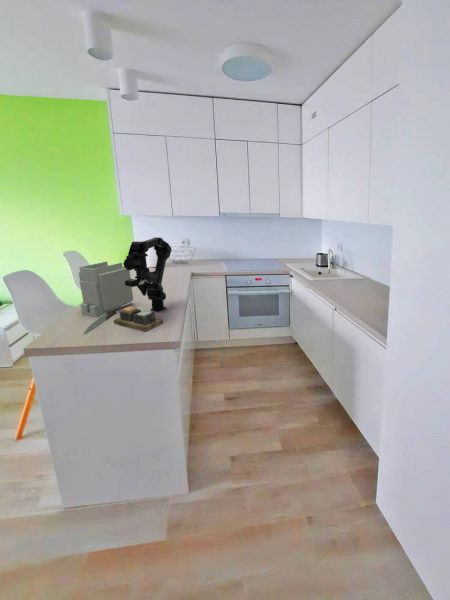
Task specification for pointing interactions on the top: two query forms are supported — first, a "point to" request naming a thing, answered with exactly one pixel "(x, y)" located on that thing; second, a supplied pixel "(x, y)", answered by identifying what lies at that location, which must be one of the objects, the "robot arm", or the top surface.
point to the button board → (138, 320)
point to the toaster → (104, 288)
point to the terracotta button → (129, 309)
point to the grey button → (144, 313)
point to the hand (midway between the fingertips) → (144, 295)
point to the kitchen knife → (99, 321)
